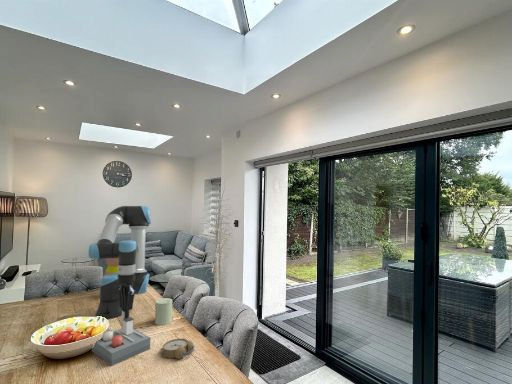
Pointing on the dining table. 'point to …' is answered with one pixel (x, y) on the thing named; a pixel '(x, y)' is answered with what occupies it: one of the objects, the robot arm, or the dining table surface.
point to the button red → (116, 341)
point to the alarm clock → (177, 348)
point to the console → (122, 347)
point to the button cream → (107, 335)
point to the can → (163, 311)
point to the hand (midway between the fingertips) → (125, 324)
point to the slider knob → (128, 326)
